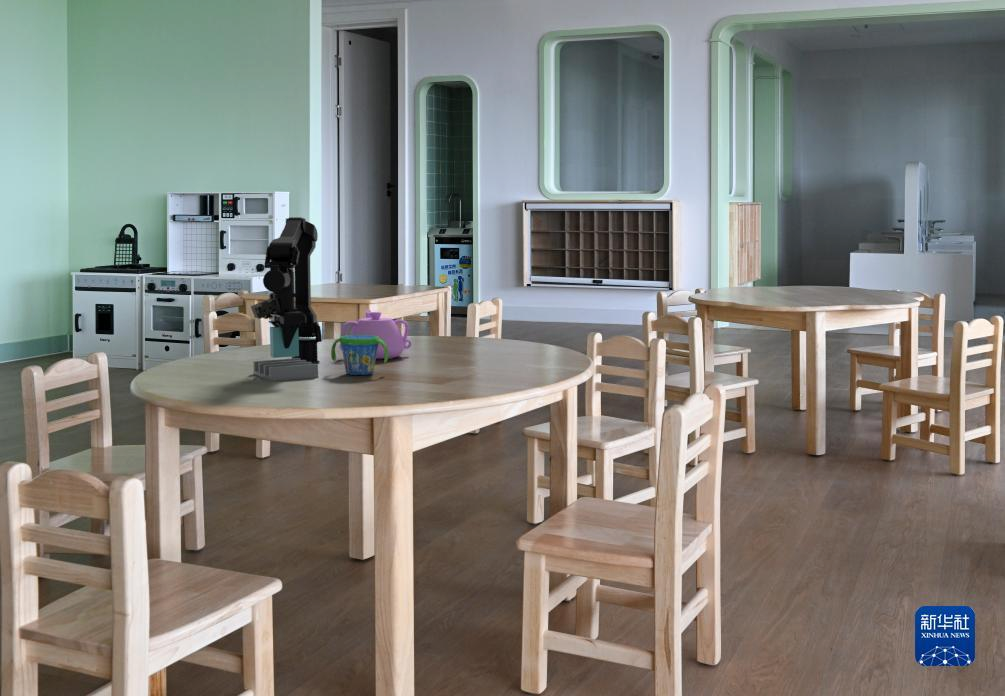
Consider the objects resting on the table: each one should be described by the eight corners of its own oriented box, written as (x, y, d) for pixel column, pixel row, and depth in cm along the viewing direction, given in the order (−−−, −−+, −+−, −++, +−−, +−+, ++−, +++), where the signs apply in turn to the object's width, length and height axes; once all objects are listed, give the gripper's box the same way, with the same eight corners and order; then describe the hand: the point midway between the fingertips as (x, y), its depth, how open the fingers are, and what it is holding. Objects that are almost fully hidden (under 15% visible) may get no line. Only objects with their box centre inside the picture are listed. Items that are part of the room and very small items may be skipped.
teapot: (401, 351, 345) (401, 307, 343) (418, 359, 324) (418, 313, 323) (332, 353, 338) (331, 309, 336) (345, 362, 317) (344, 315, 316)
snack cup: (394, 372, 297) (393, 335, 296) (378, 378, 287) (378, 339, 286) (342, 370, 302) (341, 333, 301) (325, 375, 292) (324, 337, 291)
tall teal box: (295, 355, 294) (295, 325, 293) (299, 356, 292) (298, 326, 291) (270, 356, 290) (269, 326, 289) (273, 357, 288) (272, 327, 287)
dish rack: (299, 370, 301) (299, 358, 301) (318, 377, 288) (318, 364, 288) (253, 374, 295) (253, 361, 294) (270, 381, 282) (270, 367, 282)
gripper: (243, 288, 293) (244, 345, 295) (264, 292, 277) (266, 353, 279) (283, 286, 298) (284, 343, 300) (306, 291, 282) (308, 350, 284)
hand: (284, 347), depth 291 cm, fingers closed on tall teal box, 2 cm apart
